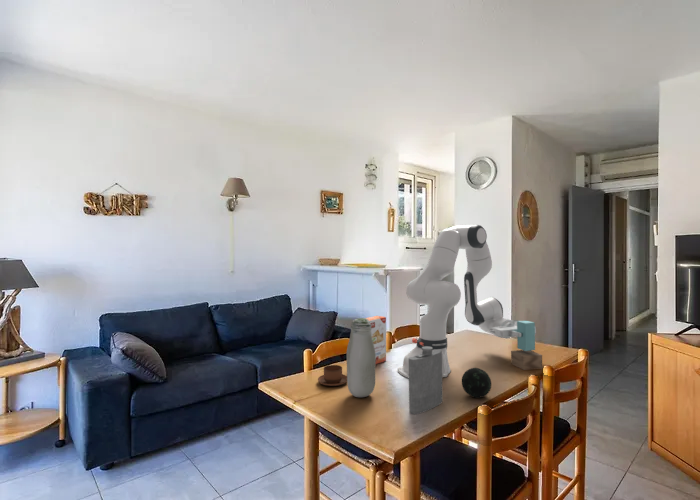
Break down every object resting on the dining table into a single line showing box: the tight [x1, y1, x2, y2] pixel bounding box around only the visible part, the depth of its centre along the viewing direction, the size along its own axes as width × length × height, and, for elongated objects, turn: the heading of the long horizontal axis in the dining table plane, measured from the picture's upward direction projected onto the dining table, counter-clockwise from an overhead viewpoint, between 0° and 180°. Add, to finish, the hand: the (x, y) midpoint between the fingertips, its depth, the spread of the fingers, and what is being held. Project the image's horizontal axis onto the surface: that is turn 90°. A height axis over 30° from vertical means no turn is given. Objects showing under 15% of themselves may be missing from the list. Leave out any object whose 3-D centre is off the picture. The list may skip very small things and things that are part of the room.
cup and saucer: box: [317, 364, 347, 387], centre depth 154 cm, size 12×12×6 cm
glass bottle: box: [346, 317, 376, 398], centre depth 140 cm, size 10×10×28 cm
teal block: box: [516, 320, 536, 351], centre depth 171 cm, size 5×5×12 cm
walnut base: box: [510, 349, 543, 371], centre depth 172 cm, size 9×9×6 cm
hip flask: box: [408, 346, 444, 415], centre depth 130 cm, size 16×4×20 cm, turn 132°
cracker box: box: [365, 315, 387, 365], centre depth 179 cm, size 14×6×21 cm, turn 136°
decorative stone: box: [461, 367, 492, 399], centre depth 138 cm, size 10×10×10 cm
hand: (527, 334), depth 171 cm, fingers closed on teal block, 5 cm apart
